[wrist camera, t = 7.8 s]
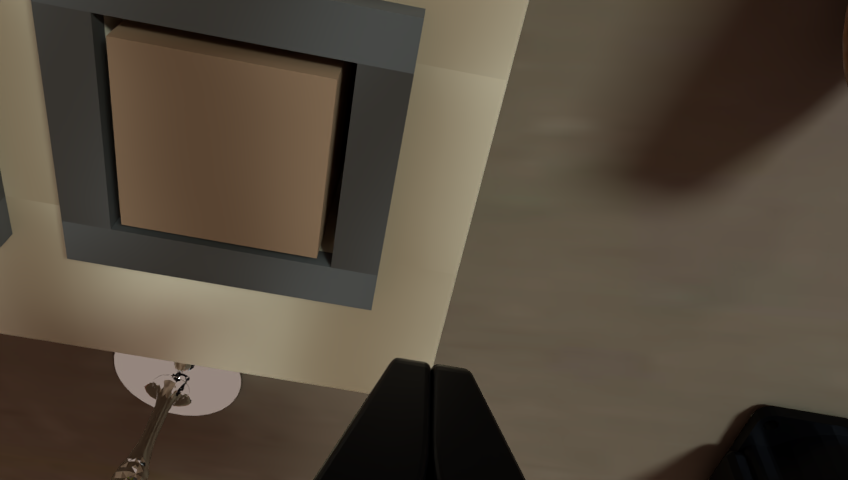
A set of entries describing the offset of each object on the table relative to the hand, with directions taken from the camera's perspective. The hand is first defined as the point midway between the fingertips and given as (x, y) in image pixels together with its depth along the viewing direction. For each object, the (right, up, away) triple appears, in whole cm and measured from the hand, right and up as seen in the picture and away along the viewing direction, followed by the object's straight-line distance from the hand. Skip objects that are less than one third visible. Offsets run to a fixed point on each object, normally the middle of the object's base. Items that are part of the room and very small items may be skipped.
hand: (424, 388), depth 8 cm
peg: (-4, +6, +10) cm, 13 cm away
